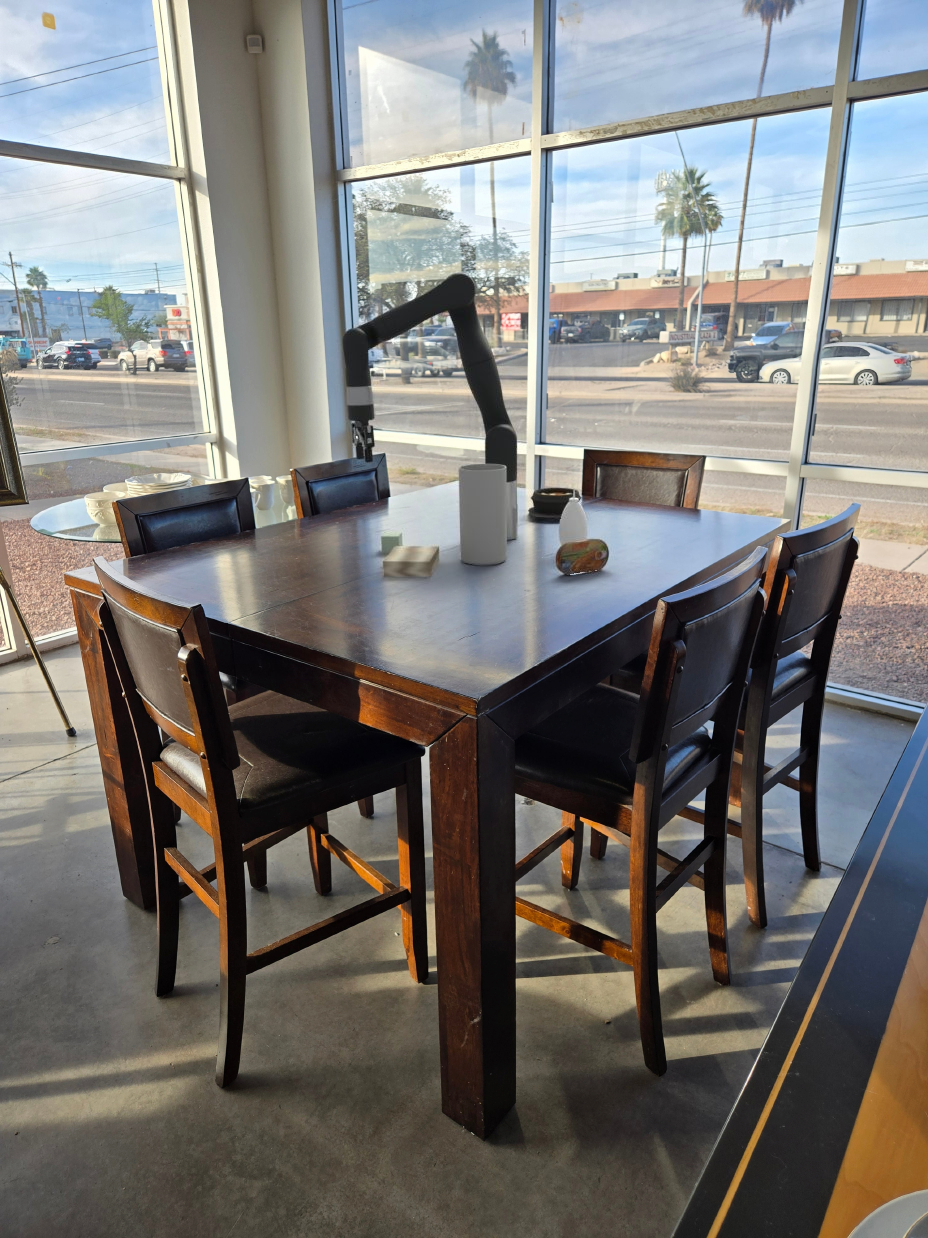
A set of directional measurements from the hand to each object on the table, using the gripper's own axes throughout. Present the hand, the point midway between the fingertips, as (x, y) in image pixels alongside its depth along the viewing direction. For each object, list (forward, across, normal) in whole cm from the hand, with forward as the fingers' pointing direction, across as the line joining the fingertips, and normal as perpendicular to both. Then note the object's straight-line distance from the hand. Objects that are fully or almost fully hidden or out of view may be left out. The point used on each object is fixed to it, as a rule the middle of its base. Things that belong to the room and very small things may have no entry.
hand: (364, 460), depth 231 cm
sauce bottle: (+25, -41, -46) cm, 66 cm away
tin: (+25, -58, -38) cm, 74 cm away
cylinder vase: (+25, -36, -21) cm, 48 cm away
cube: (+24, -14, -2) cm, 28 cm away
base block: (+24, -35, -1) cm, 42 cm away
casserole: (+25, +6, -67) cm, 72 cm away
